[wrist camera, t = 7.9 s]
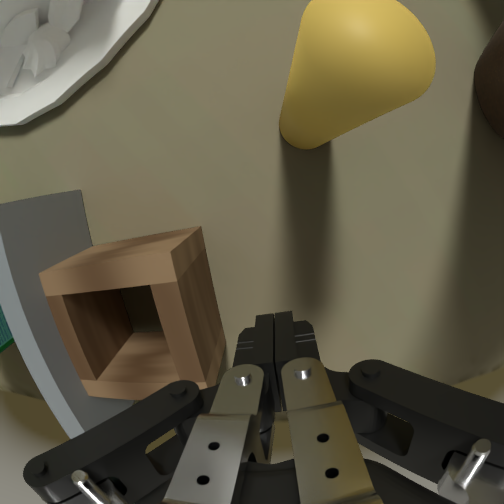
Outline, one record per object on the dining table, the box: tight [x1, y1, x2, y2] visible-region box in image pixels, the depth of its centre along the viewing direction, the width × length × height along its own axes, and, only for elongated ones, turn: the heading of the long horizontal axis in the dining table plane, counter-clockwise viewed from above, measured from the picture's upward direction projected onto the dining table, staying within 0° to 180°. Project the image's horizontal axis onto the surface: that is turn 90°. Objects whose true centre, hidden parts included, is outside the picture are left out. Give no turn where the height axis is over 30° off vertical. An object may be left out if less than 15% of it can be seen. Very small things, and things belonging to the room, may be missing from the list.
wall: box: [0, 190, 135, 439], centre depth 16 cm, size 2×16×8 cm, turn 9°
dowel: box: [279, 0, 436, 150], centre depth 10 cm, size 3×3×12 cm
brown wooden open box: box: [39, 226, 226, 400], centre depth 16 cm, size 8×8×6 cm
